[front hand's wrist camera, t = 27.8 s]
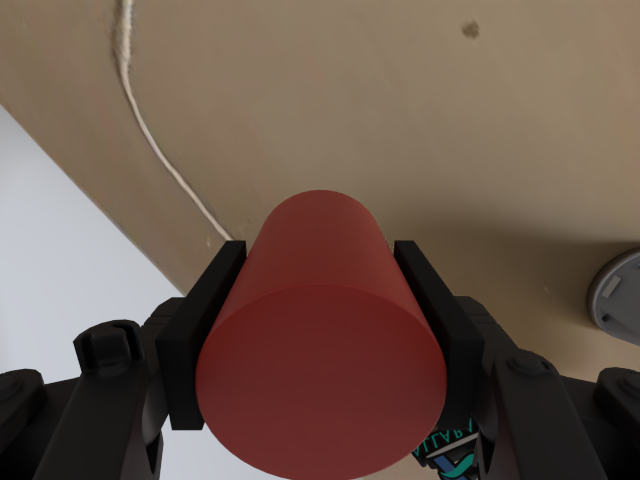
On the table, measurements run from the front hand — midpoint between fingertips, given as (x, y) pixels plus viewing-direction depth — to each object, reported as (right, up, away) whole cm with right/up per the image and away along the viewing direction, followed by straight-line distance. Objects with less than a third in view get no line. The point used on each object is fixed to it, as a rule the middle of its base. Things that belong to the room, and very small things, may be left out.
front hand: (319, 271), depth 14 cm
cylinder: (0, +1, +3) cm, 3 cm away
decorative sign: (+25, -33, +49) cm, 64 cm away
